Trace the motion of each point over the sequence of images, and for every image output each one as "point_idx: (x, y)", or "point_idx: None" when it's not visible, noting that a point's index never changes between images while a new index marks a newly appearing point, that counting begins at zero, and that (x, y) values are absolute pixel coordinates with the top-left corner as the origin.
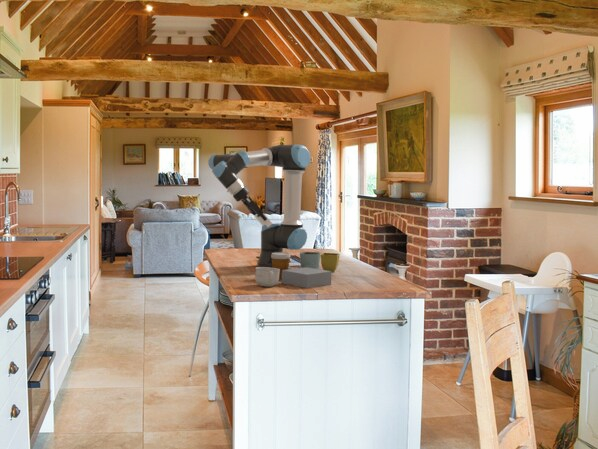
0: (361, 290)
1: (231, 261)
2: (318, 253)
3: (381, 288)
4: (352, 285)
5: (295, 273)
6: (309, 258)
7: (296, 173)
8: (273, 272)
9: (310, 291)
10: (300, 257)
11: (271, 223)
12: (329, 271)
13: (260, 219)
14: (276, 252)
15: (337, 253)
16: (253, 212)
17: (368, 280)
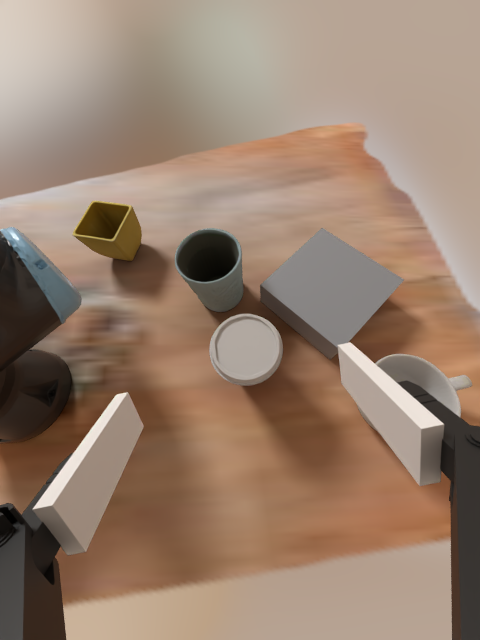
0: (373, 200)
1: None
2: (196, 234)
3: (338, 171)
4: (317, 213)
5: (374, 312)
6: (241, 263)
7: None
8: (438, 375)
9: (428, 290)
10: (217, 288)
11: (353, 349)
12: (326, 231)
13: (113, 456)
14: (215, 362)
15: (90, 204)
16: (53, 594)
17: (247, 187)
